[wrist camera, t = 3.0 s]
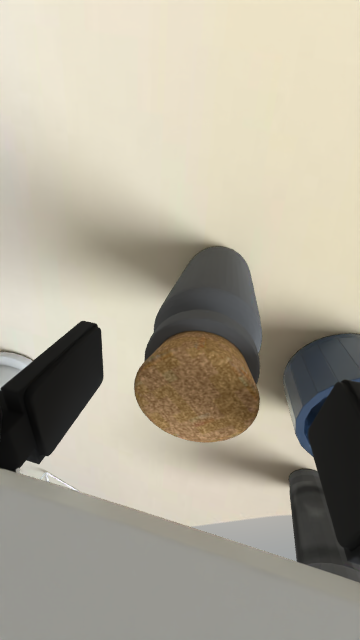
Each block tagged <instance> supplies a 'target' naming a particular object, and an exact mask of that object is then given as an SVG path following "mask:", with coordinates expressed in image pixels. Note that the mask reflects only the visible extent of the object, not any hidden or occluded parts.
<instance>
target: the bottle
mask: <svg viewBox="0 0 360 640" xmlns="http://www.w3.org/2000/svg"><path fill="white" fill-rule="evenodd" d="M261 342H262V329H261V322H260V316H259V311H258V307H257V302H256V297H255V293H254V288H253V283H252V279H251V274H250V270H249V267H248V265H247V263H246V261H245V260H244V259H243V257H242V256H241V255H240V254H238V253H237V252H235V251H234V250H232V249H229V248H226V247H211V248H207V249H205V250H202V251H201V252H199V253H198V254H197V255H196V256H195V257H194V258H193V259H192V260H191V261H190V263H189V264H188V265H187V267H186V269H185V270H184V272H183V273H182V275H181V276H180V278H179V279H178V281H177V282H176V284H175V285H174V287H173V288H172V290H171V291H170V293H169V295H168V296H167V298H166V300H165V301H164V303H163V304H162V306H161V308H160V310H159V312H158V314H157V316H156V319H155V324H154V333H153V335H152V336H151V338H150V340H149V342H148V344H147V347H146V351H145V362H144V363H143V364H142V366H141V367H140V368H139V370H138V372H137V375H136V378H135V383H134V390H135V396H136V400H137V402H138V404H139V406H140V408H141V410H142V411H143V413H144V414H145V415H146V416H147V417H148V418H149V420H150V421H152V422H153V423H154V424H155V425H156V426H158V427H159V428H161V429H162V430H164V431H165V432H167V433H169V434H172V435H174V436H176V437H179V438H182V439H185V440H190V441H195V442H217V441H223V440H227V439H230V438H233V437H235V436H237V435H239V434H241V433H242V432H244V431H245V430H246V429H247V428H248V427H249V426H250V425H251V424H252V423H253V421H254V420H255V418H256V416H257V413H258V410H259V403H260V398H259V393H258V389H257V387H256V384H257V382H258V378H259V373H260V363H259V356H258V353H259V350H260V347H261Z"/></svg>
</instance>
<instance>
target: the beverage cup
mask: <svg viewBox="0 0 360 640" xmlns="http://www.w3.org/2000/svg"><path fill="white" fill-rule="evenodd" d="M289 482H290V500H291V510H292V519H293V529H294V538H295V548H296V558H297V562H299V563H302V564H305V565H308V566H311V567H314V568H317V569H320V570H323V571H326V572H329V573H332V574H335V575H338V576H341V577H344V578H347V579H350V580H353V581H356V582H359V583H360V565H358V564H355V563H352V562H349V561H347V558H346V554H345V551H344V547H341V546H340V544H339V543H338V541H337V538H336V535H335V531H334V527H333V524H332V520H331V517H330V513H329V510H328V506H327V503H326V499H325V496H324V492H323V488H322V485H321V481H320V478H319V474H318V472H317V471H314V470H308V469H303V470H297V471H295V472H293V473H291V475H290V476H289Z"/></svg>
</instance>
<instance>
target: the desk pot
mask: <svg viewBox="0 0 360 640" xmlns="http://www.w3.org/2000/svg"><path fill="white" fill-rule="evenodd" d="M345 379H346V380H351V381H355V382H359V383H360V334H338V335H332V336H328V337H324V338H321V339H319V340H316V341H314V342H312V343H310V344H308V345H306V346H305V347H303V348H302V349H300V350H299V351H298V352H297V353H296V354H295V355H294V356H293V357H292V358H291V360H290V361H289V362H288V364H287V366H286V368H285V371H284V376H283V384H284V391H285V395H286V399H287V403H288V407H289V411H290V415H291V418H292V422H293V426H294V430H295V434H296V436H297V438H298V440H299V442H300V444H301V446H302V447H303V448H304V449H305V450H306V451H307V452H308V453H309V454H310V455H312V456H313V453H312V449H311V446H310V442H309V439H308V430H309V427H310V426H311V424H312V422H313V421H314V419H315V417H316V416H317V414H318V412H319V411H320V409H321V407H322V406H323V404H324V402H325V401H326V399H327V397H328V395H329V394H330V392H331V390H332V389H333V387H334V385H335V384H336V383H337V382H341V381H342V380H345Z"/></svg>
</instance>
